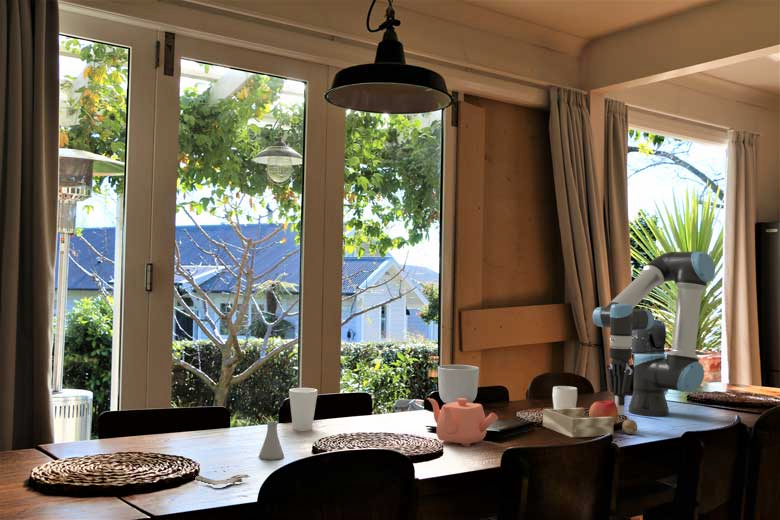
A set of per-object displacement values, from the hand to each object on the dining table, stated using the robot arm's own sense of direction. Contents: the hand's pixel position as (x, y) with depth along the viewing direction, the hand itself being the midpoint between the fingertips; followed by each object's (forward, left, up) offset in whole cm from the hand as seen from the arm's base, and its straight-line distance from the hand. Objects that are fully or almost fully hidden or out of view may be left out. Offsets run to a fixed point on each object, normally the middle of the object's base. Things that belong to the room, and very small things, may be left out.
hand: (619, 414), depth 271 cm
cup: (+11, -18, -5) cm, 22 cm away
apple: (+6, 0, -5) cm, 8 cm away
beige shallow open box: (+17, 0, -5) cm, 18 cm away
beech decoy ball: (+2, +9, -5) cm, 10 cm away
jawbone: (+144, +32, -6) cm, 148 cm away
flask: (+126, +14, -5) cm, 127 cm away
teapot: (+65, +8, -5) cm, 66 cm away
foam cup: (+109, -23, -5) cm, 112 cm away
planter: (+37, -57, -5) cm, 68 cm away
